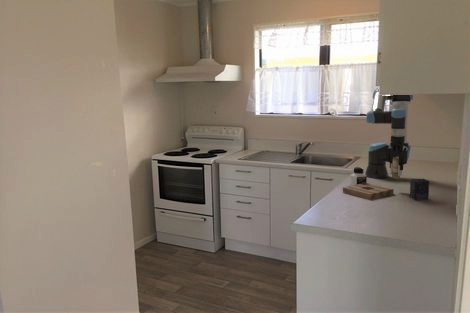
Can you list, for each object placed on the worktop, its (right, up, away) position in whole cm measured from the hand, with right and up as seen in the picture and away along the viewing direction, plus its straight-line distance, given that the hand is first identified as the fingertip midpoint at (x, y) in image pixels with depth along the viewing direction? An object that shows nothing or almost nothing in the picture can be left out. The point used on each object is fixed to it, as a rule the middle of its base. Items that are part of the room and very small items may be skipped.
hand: (396, 174), depth 230 cm
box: (+6, -13, -16) cm, 21 cm away
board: (-18, -11, -2) cm, 21 cm away
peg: (0, -2, 0) cm, 2 cm away
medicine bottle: (-18, -8, +15) cm, 24 cm away
